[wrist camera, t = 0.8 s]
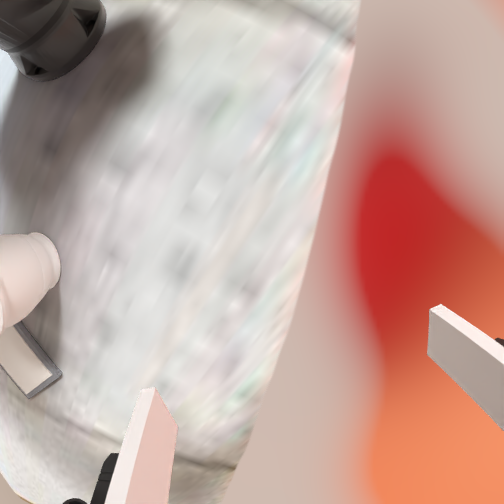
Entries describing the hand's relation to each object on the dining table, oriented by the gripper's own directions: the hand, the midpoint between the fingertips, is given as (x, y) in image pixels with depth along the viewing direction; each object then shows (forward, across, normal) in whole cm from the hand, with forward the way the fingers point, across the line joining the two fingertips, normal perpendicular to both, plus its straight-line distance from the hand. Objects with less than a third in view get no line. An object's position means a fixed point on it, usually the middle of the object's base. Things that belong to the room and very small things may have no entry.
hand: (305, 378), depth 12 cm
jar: (+25, -30, +6) cm, 40 cm away
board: (+25, -44, -6) cm, 51 cm away
